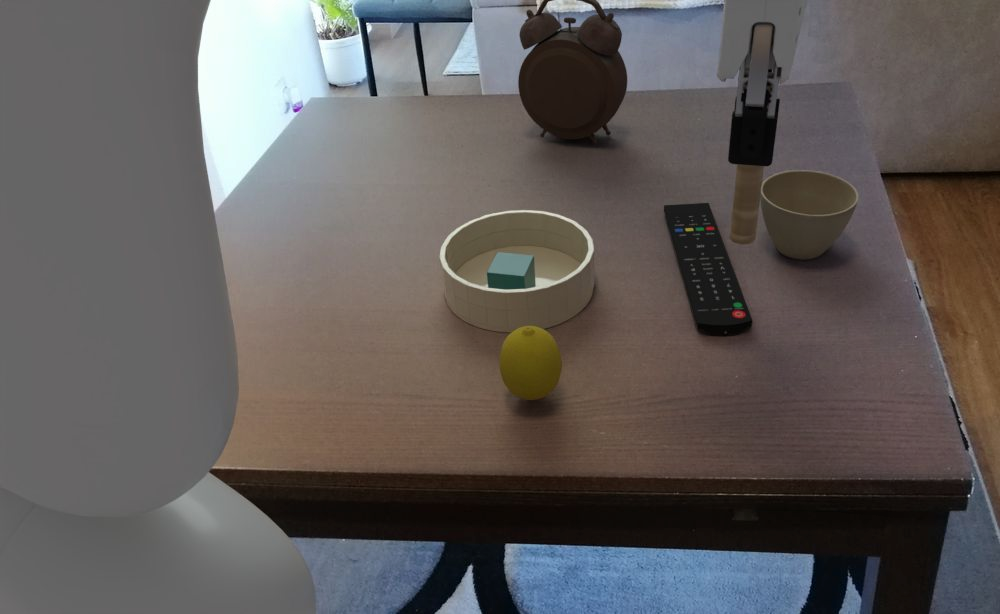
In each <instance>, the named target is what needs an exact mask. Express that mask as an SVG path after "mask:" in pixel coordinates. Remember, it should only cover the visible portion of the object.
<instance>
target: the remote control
mask: <svg viewBox="0 0 1000 614" xmlns="http://www.w3.org/2000/svg"><path fill="white" fill-rule="evenodd" d="M663 213H664V216H665V221H666V224H667V227H668V231H669V234H670V239H671V241H672V244H673V248H674V252H675V255H676V259H677V262H678V266H679V269H680V273H681V276H682V279H683V280H682V281H683V283H684V287H685V290H686V293H687V294H686V295H687V298H688V301H689V304H690V308H691V312H692V315H693V319H694V322H695V326H696V329H697V330H699V331H701V332H703V333H705V334H707V335H710V336H715V337H717V336H718V337H729V336H735V335H740V334H741V333H743V332H745V331H746V330H748V329H749V328H751V327H753V318H752V314H751V312H750V309H749V307H748V304H747V302H746V299H745V296H744V294H743V290H742V289H741V286H740V282H739V280H738V278H737V275H736V273H735V269H734V267H733V264H732V262H731V259H730V257H729V254H728V250H727V248H726V245H725V242H724V240H723V238H722V235H721V232H720V230H719V227H718V225H717V221H716V218H715V216H714V214H713V211H712V208H711V205H710V203H709V202H698V203H681V204H679V203H678V204H664V205H663Z"/></svg>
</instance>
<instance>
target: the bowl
mask: <svg viewBox="0 0 1000 614" xmlns="http://www.w3.org/2000/svg"><path fill="white" fill-rule="evenodd" d="M497 252H503V253H513V254H524V255H534V266H535V284H536V287H532V288H527V289H508V290H505V289H496V288H488V280H487V271H488V269H489V267H490V265H491V264H492V262H493V260H494V258H495V256H496V254H497ZM438 259H439V266H440V273H441V281H442V289H443V294H444V298H445V302H446V305H447V306H448V308H449V309H450V311H451V312H452V314H454V315H455V316H456V318H457V317H458V318H459V319H460V320H462V321H463V322H465V323H467V324H469V325H471V326H474V327H476V328H479V329H482V330H487V331H491V332H497V333H508V334H511V333H512V332H513V331H514V330H516V329H518V328H521V327H524V326H536V327H539V328H542V329H544V330H545V329H549V328H552V327H555V326H558V325H560V324H563V323H565V322H566V321H569V320H571V319H572V318H573V317H576V316H577V315H578V314H579V313H581V311H583V310H584V309H585V307H587V305H588V304H589V302H590V301H591V299H592V297H593V294H594V289H595V245H594V239H593V237H592V236H591V235H590V233H589V231H588V230H587V229H586V228H585V227H583V226H582V225H581V224H580V223H578V222H577V221H575V220H574V219H571V218H569V217H566V216H565V215H562V214H557V213H554V212H549V211H544V210H531V209H519V210H518V209H516V210H504V211H499V212H494V213H488V214H485V215H482V216H480V217H477V218H474V219H471V220H469V221H467V222H466V223H464V224H461V225H460V226H458V227H456V228H455V229H454V230H452V232H451V233H450V234H448V235H447V236H446V238H445V240H444V241H443V243H442V244H441V246H440V250H439V257H438Z"/></svg>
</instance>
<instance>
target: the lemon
mask: <svg viewBox="0 0 1000 614" xmlns="http://www.w3.org/2000/svg"><path fill="white" fill-rule="evenodd" d="M498 366H499V371H500V376H501V379H502V382H503V384H504V385H505V387H506V388H507V390H508V391H510V393H511V394H512V395H514V396H515V397H518V398H519V399H523V400H526V401H536V400H537V401H538V400H540V399H543V398H544V397H546V396H548V395H549V394H550V393H552V392H553V391H554V390H555V388H556V387H557V385H558V384H559V381H560V379H561V374H562V366H563V365H562V356H561V352H560V348H559V345H558V344H557V342H556V340H555V338H554V336H552V334H551V333H550V332H548V331H547V330H545V329H542V328H539V327H536V326H524V327H521V328H518V329H516V330H514V331H513V332H512V333H509V334H508V335H507V337H506V338H505V339H504V341H503V342H502V346H501V348H500V354H499V365H498Z"/></svg>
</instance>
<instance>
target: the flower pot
mask: <svg viewBox="0 0 1000 614" xmlns="http://www.w3.org/2000/svg"><path fill="white" fill-rule="evenodd" d="M859 195H860V194H859V192H858V190H857V189H856V187H855V186H854V185H853V184H852V183H850V182H849V181H848V180H846V179H844V178H842V177H840V176H837V175H835V174H831V173H828V172H824V171H817V170H811V169H791V170H786V171H785V170H784V171H780V172H777V173H774V174H771V175H770V176H768V177H767V178H765V180H764V181H762V187H761V195H760V208H761V213H762V217H763V222H764V225H765V228H766V231H767V234H768V235H769V238H770V240H771V241H772V243H773V245H774V246H775V248H776V250H777V251H778V252H779V253H780V254H781V255H783V256H785V257H787V258H791V259H795V260H802V261H803V260H804V261H805V260H813V259H815V258H818V257H820V256H821V255H822V254H824V253H825V252H826V251H827V250H828V249H829V248H830V247H831V246H832V245H833V244H834V243H835V242H836V241H837V240H838V238H839V237H840V236H841V235H842V233H843V232H844V230H845V228H847V226H848V224H849V222H850V221H851V218H852V217H853V215H854V212H855V210H856V207H857V205H858V202H859V198H860V196H859Z"/></svg>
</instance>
